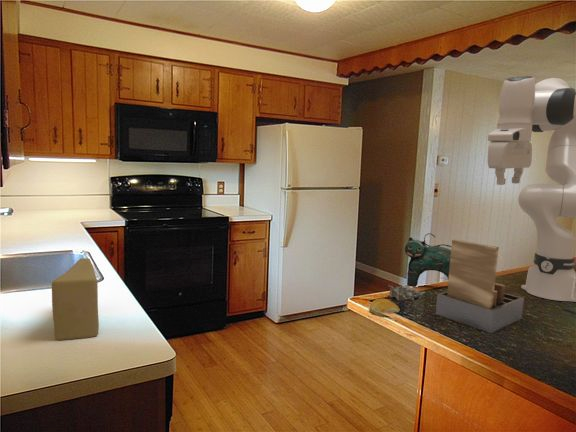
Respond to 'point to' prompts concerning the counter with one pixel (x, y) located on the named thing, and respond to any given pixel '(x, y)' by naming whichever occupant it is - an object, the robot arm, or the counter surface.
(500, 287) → the walnut offcut
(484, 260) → the birch sheet
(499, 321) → the rack
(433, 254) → the ceramic cat
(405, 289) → the egg carton
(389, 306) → the bread roll
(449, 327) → the counter surface
